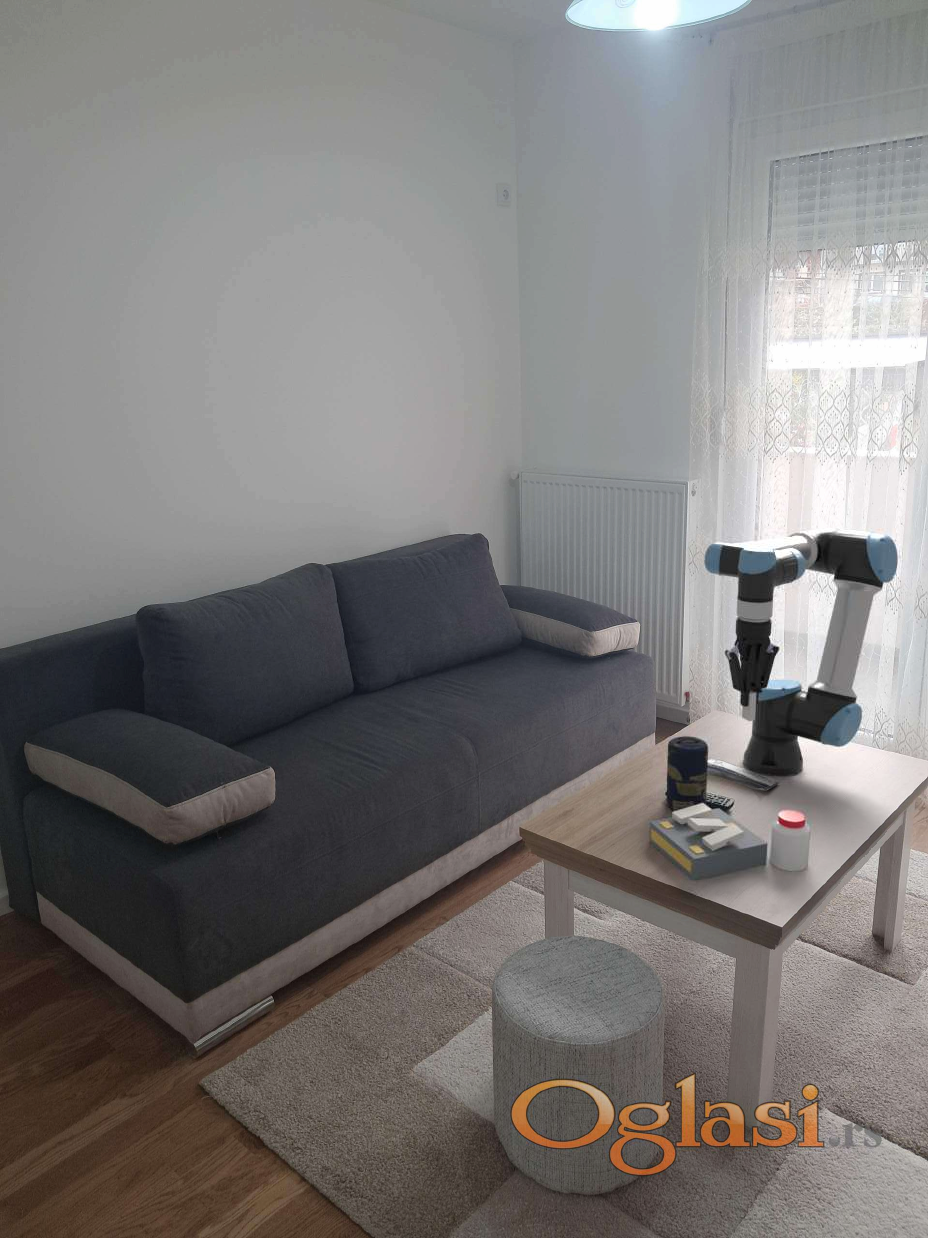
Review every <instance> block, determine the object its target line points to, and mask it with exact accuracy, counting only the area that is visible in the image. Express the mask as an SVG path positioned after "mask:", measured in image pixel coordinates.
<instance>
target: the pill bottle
mask: <svg viewBox="0 0 928 1238" xmlns="http://www.w3.org/2000/svg"><path fill="white" fill-rule="evenodd" d="M806 818H807V817H806V815H805V814H804V813H802V812H801V811H799V810H795V809H794V810H793V809H792V810H791V809H786V810H785V809H784V810H780V811H779V812H778V817H777V819H775V820H774V821H773V822H772V826H771V837H770V838H771V839H770V852H769V853H770V854H769V862H770V863H771V864H772V866H773V867H775V868H777V869H779V870H781V871H787V872H802V871H803V870H805V869H807V868H808V866H809V856H810V855H809V854H810V853H809V852H810V840H811V827H810V826H809V824H807V822H806Z"/></svg>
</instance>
